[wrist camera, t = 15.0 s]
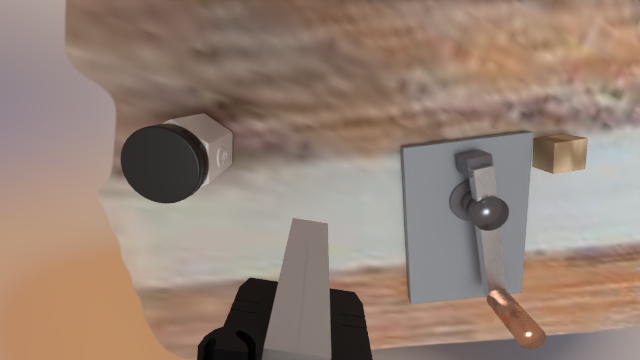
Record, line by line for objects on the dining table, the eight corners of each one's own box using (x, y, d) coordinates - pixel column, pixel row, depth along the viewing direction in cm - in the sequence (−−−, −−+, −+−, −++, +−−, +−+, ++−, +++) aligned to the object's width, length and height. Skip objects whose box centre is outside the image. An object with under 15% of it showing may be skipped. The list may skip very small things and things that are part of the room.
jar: (233, 179, 43) (201, 211, 32) (176, 173, 43) (123, 204, 31) (234, 116, 41) (200, 126, 29) (174, 110, 40) (115, 117, 29)
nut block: (554, 143, 37) (587, 138, 37) (533, 138, 41) (562, 133, 41) (553, 173, 39) (585, 168, 38) (532, 166, 42) (561, 161, 42)
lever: (450, 156, 40) (497, 179, 29) (484, 147, 39) (543, 168, 29) (469, 291, 45) (513, 352, 35) (498, 285, 45) (552, 345, 35)
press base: (400, 146, 42) (409, 152, 37) (525, 130, 41) (549, 135, 36) (408, 297, 49) (416, 317, 44) (515, 286, 48) (534, 306, 44)
